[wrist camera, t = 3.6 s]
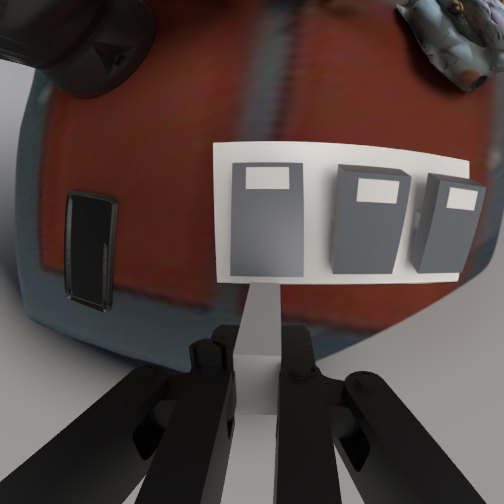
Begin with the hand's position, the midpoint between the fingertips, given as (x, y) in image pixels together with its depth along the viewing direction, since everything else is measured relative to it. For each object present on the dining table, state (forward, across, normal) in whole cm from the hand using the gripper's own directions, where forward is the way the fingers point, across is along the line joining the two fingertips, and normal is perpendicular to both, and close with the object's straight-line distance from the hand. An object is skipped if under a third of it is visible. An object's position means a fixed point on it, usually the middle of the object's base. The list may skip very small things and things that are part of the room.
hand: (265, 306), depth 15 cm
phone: (+16, -23, -1) cm, 28 cm away
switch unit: (+16, +7, +4) cm, 18 cm away
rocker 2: (+7, +7, +4) cm, 11 cm away
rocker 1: (+7, 0, +4) cm, 8 cm away
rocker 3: (+7, +15, +4) cm, 17 cm away
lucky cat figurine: (+16, +22, +26) cm, 38 cm away
